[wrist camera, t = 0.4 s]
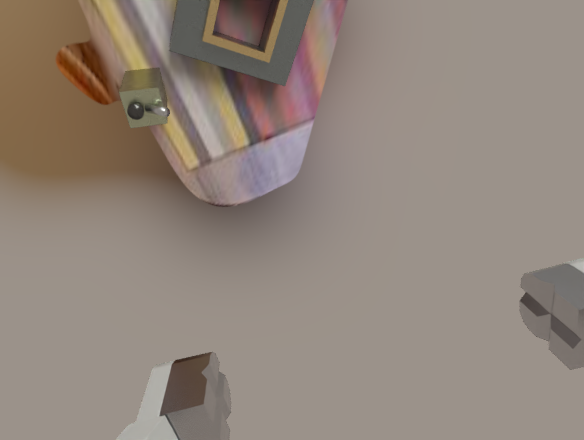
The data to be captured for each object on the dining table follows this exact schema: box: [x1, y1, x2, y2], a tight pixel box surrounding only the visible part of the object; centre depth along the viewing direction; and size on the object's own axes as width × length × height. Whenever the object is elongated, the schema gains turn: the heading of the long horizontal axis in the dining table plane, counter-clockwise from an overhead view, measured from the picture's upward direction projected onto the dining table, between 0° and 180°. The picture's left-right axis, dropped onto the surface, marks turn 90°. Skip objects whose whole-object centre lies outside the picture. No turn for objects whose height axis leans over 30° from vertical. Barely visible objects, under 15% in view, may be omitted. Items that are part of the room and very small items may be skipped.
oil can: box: [119, 68, 170, 128], centre depth 46 cm, size 4×5×12 cm
